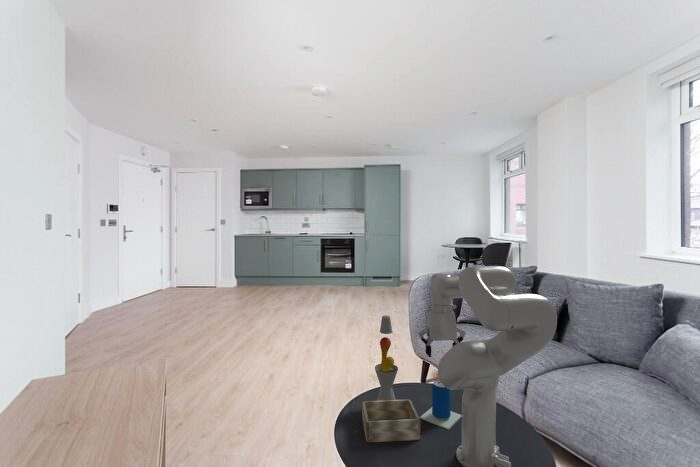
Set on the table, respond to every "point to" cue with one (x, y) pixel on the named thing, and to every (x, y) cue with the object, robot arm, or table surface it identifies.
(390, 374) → the lava lamp
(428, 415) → the green mat
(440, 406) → the beverage can
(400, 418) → the box
